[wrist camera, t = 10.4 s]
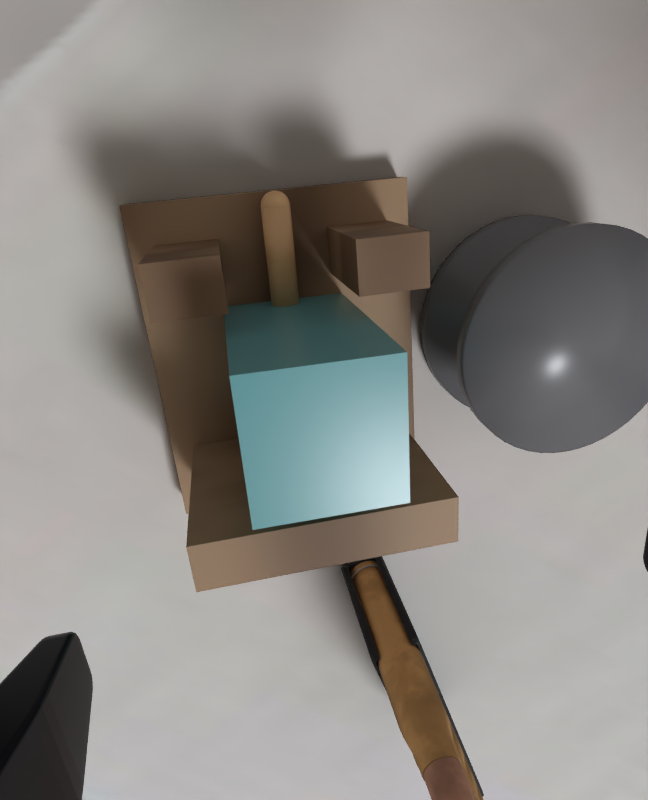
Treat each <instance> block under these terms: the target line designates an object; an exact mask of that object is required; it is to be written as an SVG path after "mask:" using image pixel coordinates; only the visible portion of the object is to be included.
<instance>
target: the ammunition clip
mask: <svg viewBox="0 0 648 800" xmlns="http://www.w3.org/2000/svg"><path fill="white" fill-rule="evenodd" d="M341 569H342V572H343V575H344V578H345V581H346V584H347V587H348V590H349V594H350V597H351V600H352V603H353V606H354V609H355V612H356V615H357V618H358V621H359V624H360V627H361V630H362V633H363V636H364V639H365V642H366V645H367V648H368V651H369V654H370V657H371V660H372V662H373V664H374V666H375V668H376V671H377V673H378V675H379V677H380V679H381V681H382V683H383V685H384V687H385V689H386V691H387V694H388V697H389V699H390V702H391V705H392V708H393V711H394V714H395V717H396V720H397V723H398V726H399V728H400V731H401V733H402V735H403V737H404V739H405V741H406V743H407V745H408V746H409V748H410V750H411V751H412V753H413V756H414V759H415V761H416V764H417V766H418V768H419V770H420V772H421V775H422V777H423V779H424V781H425V782H426V785H427V788H428V791H429V793H430V796H431V799H432V800H483V798H482V797H483V796H484V794H483V791H482V789H481V787H480V784H479V782H478V779H477V777H476V775H475V772H474V770H473V767H472V765H471V763H470V760H469V758H468V756H467V753H466V751H465V748H464V746H463V744H462V741H461V739H460V737H459V734H458V732H457V729H456V727H455V725H454V722H453V720H452V718H451V715H450V713H449V710H448V708H447V706H446V703H445V701H444V699H443V696H442V694H441V691H440V689H439V687H438V684H437V682H436V679H435V677H434V675H433V672H432V670H431V668H430V665H429V663H428V660H427V658H426V656H425V653H424V651H423V649H422V646H421V644H420V641H419V639H418V637H417V635H416V632H415V630H414V628H413V626H412V623H411V621H410V619H409V617H408V614H407V612H406V610H405V607H404V605H403V603H402V601H401V598H400V596H399V594H398V592H397V589H396V587H395V585H394V583H393V580H392V578H391V576H390V574H389V571H388V569H387V567H386V565H385V562H384V560H383V558H382V556H380V557H374V558H369V559H364V560H359V561H354V562H351V563H348V564H346V565H344V566H342V568H341Z"/></svg>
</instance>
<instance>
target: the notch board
mask: <svg viewBox="0 0 648 800" xmlns="http://www.w3.org/2000/svg"><path fill="white" fill-rule="evenodd" d="M270 191H280V192H282V193H284V194H285V195H286V196H287V198H288V199H289V202H290V209H291V219H292V230H293V240H294V251H295V262H296V272H297V283H298V293H299V298H302V297H311V296H320V295H328V294H337V293H342V294H343V295H344V296H346V297H347V298H348V299H349V300H350V301H351V302H352V303H353V304H354V305H356V306H357V307H358V308H359V309H360V310H361V311H362V312H363V313H364V314H366V315H367V316H368V317H369V318H370V319H371V320H372V321H373V322H374V323H375V324H377V325H378V326H379V327H380V328H381V329H382V330H383V331H384V332H385V333H387V334H388V335H389V336H390V337H391V338H392V339H393V340H394V341H395V342H396V343H398V344H399V345H400V346H401V347H402V348H403V349H404V350H405V351H406V352H407V364H408V413H409V463H410V503H406V504H400V505H395V506H389V507H383V508H377V509H371V510H366V511H360V512H354V513H348V514H343V515H337V516H331V517H325V518H319V519H314V520H308V521H302V522H296V523H291V524H285V525H279V526H273V527H267V528H262V529H256V530H253V529H252V523H251V516H250V510H249V503H248V496H247V490H246V483H245V477H244V470H243V463H242V457H241V450H240V443H239V437H238V430H237V424H236V417H235V410H234V404H233V397H232V391H231V384H230V377H229V367H228V355H227V343H226V331H225V320H224V314H229V310H228V306H233V305H242V304H251V303H259V302H268V301H271V294H270V285H269V276H268V267H267V259H266V250H265V241H264V232H263V223H262V215H261V201H262V198H263V197H264V195H265V194H266V193H268V192H270ZM120 211H121V215H122V220H123V224H124V229H125V234H126V238H127V243H128V247H129V252H130V257H131V261H132V266H133V270H134V275H135V280H136V284H137V289H138V293H139V298H140V303H141V307H142V312H143V316H144V321H145V326H146V330H147V335H148V340H149V344H150V349H151V353H152V358H153V363H154V367H155V372H156V376H157V381H158V386H159V390H160V395H161V399H162V404H163V409H164V413H165V418H166V422H167V427H168V432H169V436H170V441H171V445H172V450H173V455H174V459H175V464H176V469H177V473H178V478H179V482H180V487H181V492H182V496H183V501H184V505H185V510H186V514H187V513H189V517H188V532H187V546H186V547H187V552H188V556H189V561H190V565H191V570H192V574H193V579H194V583H195V588H196V592H200V591H205V590H210V589H215V588H220V587H225V586H231V585H236V584H241V583H246V582H251V581H256V580H261V579H267V578H272V577H277V576H282V575H287V574H292V573H297V572H303V571H308V570H313V569H318V568H323V567H328V566H333V565H338V564H344V563H349V562H354V561H359V560H364V559H369V558H374V557H380V556H385V555H390V554H395V553H400V552H405V551H410V550H416V549H421V548H426V547H431V546H436V545H441V544H446V543H452V542H457V541H458V496H457V495H456V493H455V492H454V491H453V489H452V488H451V487H450V485H449V484H448V483H447V482H446V480H445V479H444V478H443V476H442V475H441V474H440V472H439V471H438V470H437V468H436V467H435V466H434V465H433V463H432V462H431V461H430V459H429V458H428V457H427V455H426V454H425V453H424V452H423V450H422V449H421V448H420V446H419V445H418V444H417V442H416V441H415V440H414V410H413V374H412V338H411V302H410V290H417V289H425V288H430V232H429V231H427V230H423V229H419V228H415V227H411V226H408V193H407V177H395V178H385V179H375V180H365V181H354V182H344V183H334V184H324V185H314V186H304V187H294V188H284V189H274V190H264V191H254V192H244V193H234V194H224V195H214V196H204V197H194V198H184V199H174V200H164V201H154V202H144V203H133V204H124V205H121V206H120Z"/></svg>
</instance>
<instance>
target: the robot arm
mask: <svg viewBox="0 0 648 800" xmlns="http://www.w3.org/2000/svg"><path fill="white" fill-rule="evenodd" d="M643 560H644V564H645V567H646V569H647V571H648V530H647V536H646V542H645V548H644V554H643ZM92 691H93V683H92V675H91V671H90V668H89V665H88V662H87V659H86V656H85V654H84V651H83V648H82V645H81V642H80V639H79V637H78V636H77V634H76V633H73V632H67V633H62V634H57V635H52V636H48V637H45V638H44V639H42V640H41V641H40V642H39V643H38V644H37V645H36V646H35V647H34V648H33V649H32V650H31V651H30V653H29V654H28V655H27V656H26V657H25V658H24V659H23V660H22V661H21V662H20V663H19V664H18V665H17V666H16V667H15V668H14V670H13V671H12V672H11V673H10V674H9V675H8V676H7V677H6V678H5V679H4V680H3V681H2V682H1V683H0V800H82V793H83V785H84V774H85V764H86V754H87V743H88V733H89V723H90V712H91V702H92Z"/></svg>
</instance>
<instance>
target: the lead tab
mask: <svg viewBox="0 0 648 800" xmlns="http://www.w3.org/2000/svg"><path fill="white" fill-rule="evenodd" d="M261 215H262V223H263V232H264V241H265V250H266V259H267V267H268V276H269V285H270V294H271V301H268V302H259V303H251V304H242V305H233V306H228V310H229V314H224V320H225V331H226V343H227V355H228V367H229V377H230V384H231V391H232V397H233V404H234V410H235V417H236V424H237V430H238V437H239V443H240V450H241V457H242V463H243V470H244V477H245V483H246V490H247V496H248V503H249V510H250V516H251V523H252V529H253V530H256V529H262V528H267V527H273V526H279V525H285V524H291V523H296V522H302V521H308V520H314V519H319V518H325V517H331V516H337V515H343V514H348V513H354V512H360V511H366V510H371V509H377V508H383V507H389V506H395V505H400V504H406V503H410V463H409V413H408V364H407V352H406V351H405V350H404V349H403V348H402V347H401V346H400V345H399V344H398V343H396V342H395V341H394V340H393V339H392V338H391V337H390V336H389V335H388V334H387V333H385V332H384V331H383V330H382V329H381V328H380V327H379V326H378V325H377V324H375V323H374V322H373V321H372V320H371V319H370V318H369V317H368V316H367V315H366V314H364V313H363V312H362V311H361V310H360V309H359V308H358V307H357V306H356V305H354V304H353V303H352V302H351V301H350V300H349V299H348V298H347V297H346V296H344V295H343V294H342V293H337V294H328V295H320V296H311V297H302V298H299V293H298V283H297V272H296V262H295V251H294V240H293V230H292V219H291V209H290V202H289V199H288V198H287V196H286V195H285V194H284V193H282V192H280V191H270V192H268V193H266V194H265V195H264V197H263V198H262V201H261Z"/></svg>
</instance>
